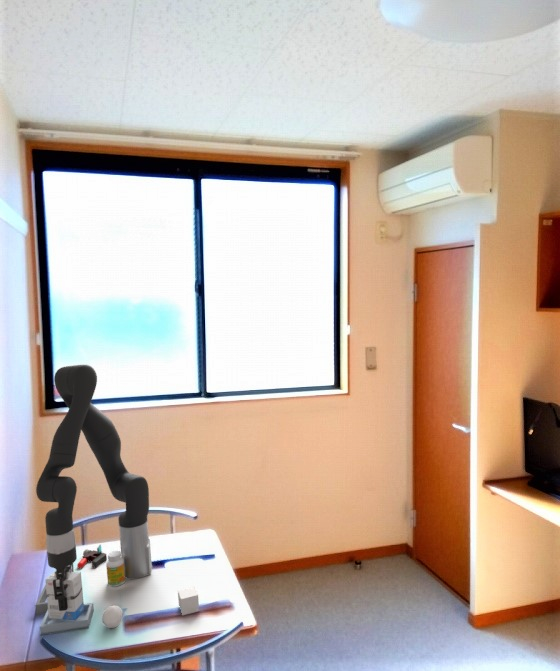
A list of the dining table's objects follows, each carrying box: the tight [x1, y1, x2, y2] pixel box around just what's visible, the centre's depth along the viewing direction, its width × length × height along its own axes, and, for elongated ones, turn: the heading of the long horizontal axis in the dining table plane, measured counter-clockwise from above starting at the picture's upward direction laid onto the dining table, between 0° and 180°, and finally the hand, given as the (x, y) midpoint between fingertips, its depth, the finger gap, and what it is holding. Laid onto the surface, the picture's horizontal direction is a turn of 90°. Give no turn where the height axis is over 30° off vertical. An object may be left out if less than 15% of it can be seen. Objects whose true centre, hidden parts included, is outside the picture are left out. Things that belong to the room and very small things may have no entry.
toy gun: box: [77, 544, 108, 569], centre depth 187 cm, size 10×12×5 cm
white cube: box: [177, 586, 200, 616], centre depth 156 cm, size 5×5×5 cm
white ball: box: [101, 605, 124, 629], centre depth 150 cm, size 8×6×6 cm
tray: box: [39, 602, 95, 636], centre depth 152 cm, size 9×13×2 cm
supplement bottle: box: [105, 550, 126, 587], centre depth 172 cm, size 5×5×10 cm
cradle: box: [34, 584, 48, 615], centre depth 164 cm, size 8×13×3 cm, turn 10°
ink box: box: [44, 570, 85, 620], centre depth 151 cm, size 8×5×12 cm, turn 81°
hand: (66, 603), depth 152 cm, fingers closed on ink box, 6 cm apart
